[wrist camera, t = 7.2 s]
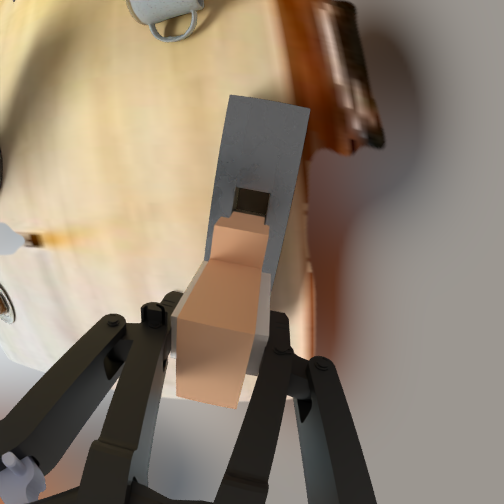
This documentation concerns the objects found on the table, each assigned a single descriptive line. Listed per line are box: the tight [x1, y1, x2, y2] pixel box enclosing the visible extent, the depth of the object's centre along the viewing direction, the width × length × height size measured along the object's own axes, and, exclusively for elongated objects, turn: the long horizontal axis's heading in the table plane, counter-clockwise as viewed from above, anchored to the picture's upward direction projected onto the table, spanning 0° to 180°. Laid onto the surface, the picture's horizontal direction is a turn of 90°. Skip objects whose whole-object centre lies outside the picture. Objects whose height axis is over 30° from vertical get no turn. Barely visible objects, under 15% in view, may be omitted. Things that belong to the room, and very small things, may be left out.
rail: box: [204, 95, 310, 295], centre depth 31 cm, size 8×28×5 cm, turn 170°
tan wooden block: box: [176, 211, 269, 409], centre depth 16 cm, size 3×9×12 cm, turn 170°
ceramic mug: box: [126, 0, 204, 42], centre depth 20 cm, size 11×8×8 cm
